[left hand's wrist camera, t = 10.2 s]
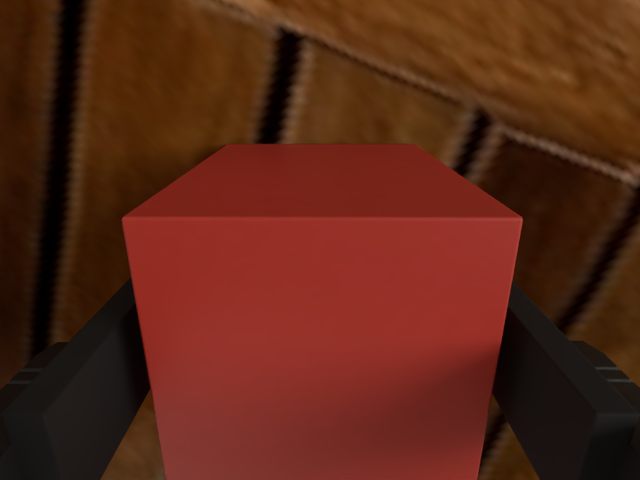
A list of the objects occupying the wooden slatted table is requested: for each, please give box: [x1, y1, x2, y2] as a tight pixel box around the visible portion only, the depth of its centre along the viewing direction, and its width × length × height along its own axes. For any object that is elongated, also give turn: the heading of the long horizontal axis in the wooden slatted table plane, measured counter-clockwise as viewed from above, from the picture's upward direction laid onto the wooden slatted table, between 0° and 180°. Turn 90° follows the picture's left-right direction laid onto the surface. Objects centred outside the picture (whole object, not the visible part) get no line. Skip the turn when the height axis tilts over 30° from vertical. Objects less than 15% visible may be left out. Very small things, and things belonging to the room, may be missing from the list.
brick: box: [122, 144, 523, 480], centre depth 15 cm, size 8×8×10 cm
